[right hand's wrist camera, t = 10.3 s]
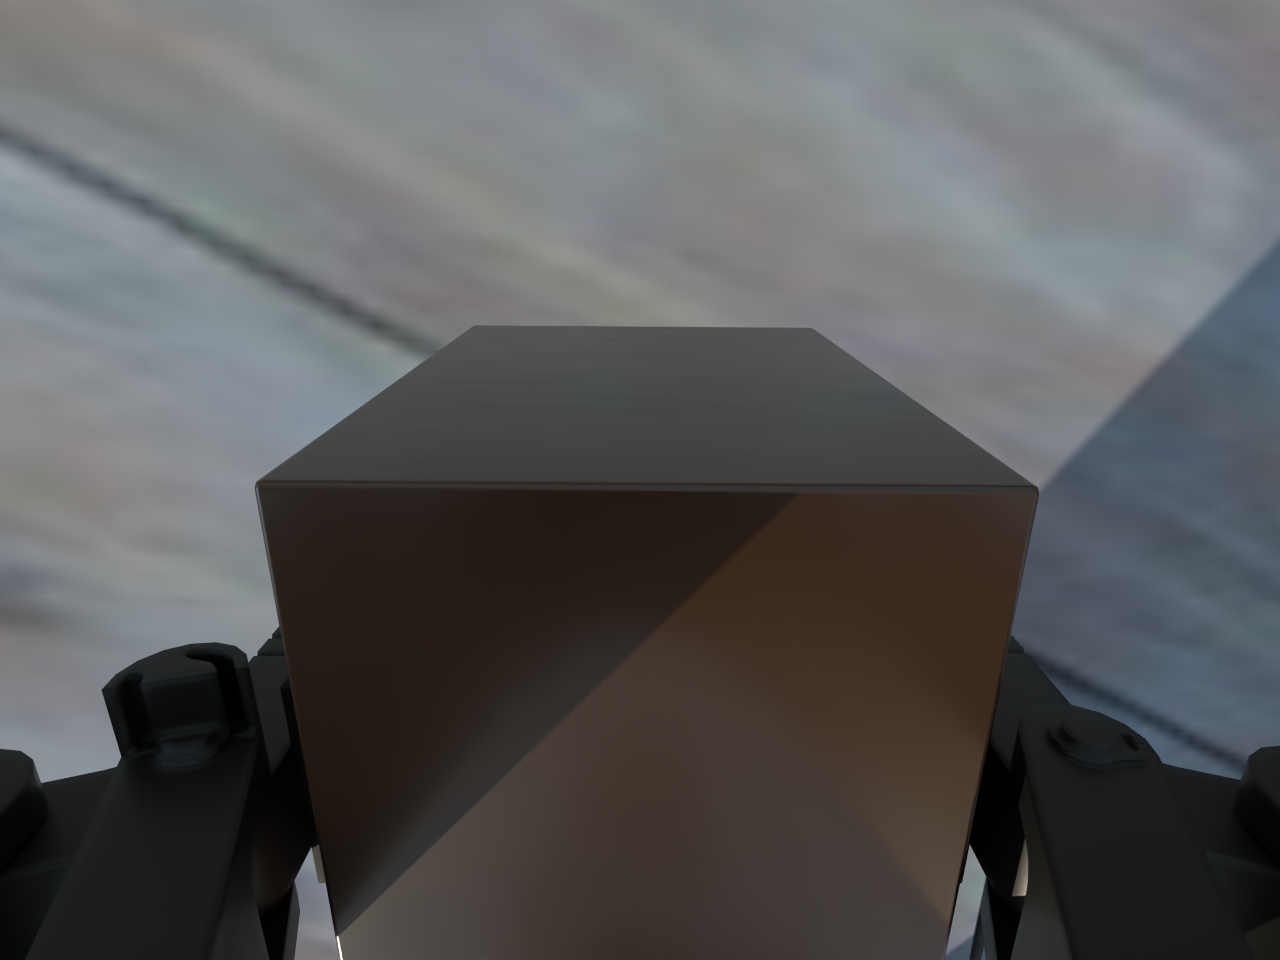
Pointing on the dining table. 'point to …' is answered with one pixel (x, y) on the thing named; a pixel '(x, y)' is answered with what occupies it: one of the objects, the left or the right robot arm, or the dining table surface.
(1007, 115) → the dining table surface
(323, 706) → the walnut beam
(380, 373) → the dining table surface
